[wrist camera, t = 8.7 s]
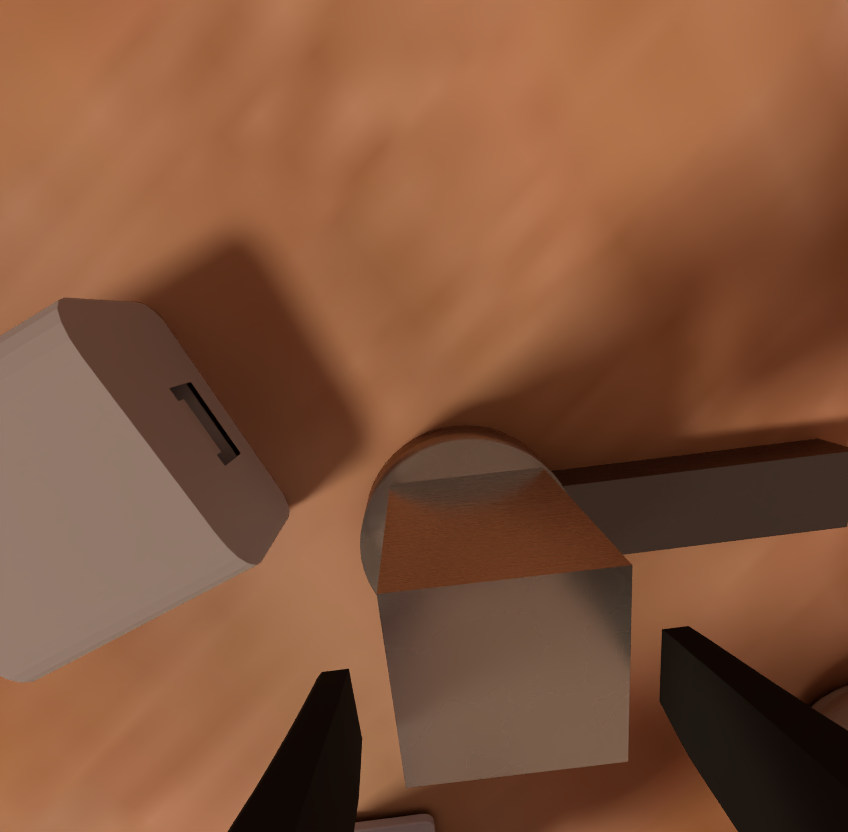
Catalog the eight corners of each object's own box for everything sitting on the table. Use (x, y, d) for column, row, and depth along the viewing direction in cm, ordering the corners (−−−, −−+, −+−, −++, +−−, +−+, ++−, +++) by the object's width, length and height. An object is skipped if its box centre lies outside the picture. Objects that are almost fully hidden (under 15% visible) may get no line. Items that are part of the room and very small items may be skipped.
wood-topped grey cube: (547, 599, 15) (627, 761, 10) (407, 615, 15) (405, 788, 10) (542, 467, 14) (632, 565, 8) (390, 483, 14) (376, 594, 8)
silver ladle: (801, 556, 18) (956, 650, 13) (380, 609, 18) (369, 724, 13) (823, 381, 16) (1015, 409, 11) (352, 437, 16) (326, 492, 11)
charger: (-159, 491, 16) (156, 302, 14) (8, 658, 18) (295, 506, 16) (-396, 563, 11) (37, 294, 10) (-133, 778, 13) (252, 578, 12)
